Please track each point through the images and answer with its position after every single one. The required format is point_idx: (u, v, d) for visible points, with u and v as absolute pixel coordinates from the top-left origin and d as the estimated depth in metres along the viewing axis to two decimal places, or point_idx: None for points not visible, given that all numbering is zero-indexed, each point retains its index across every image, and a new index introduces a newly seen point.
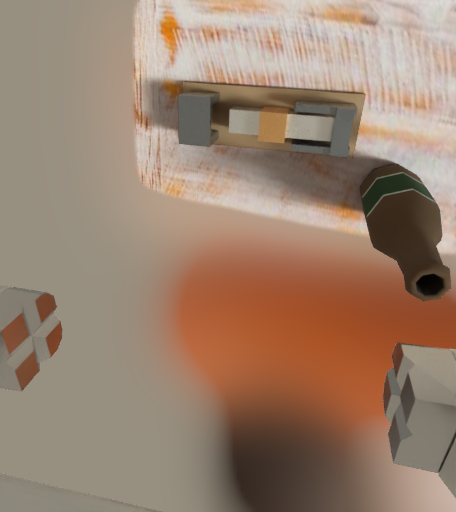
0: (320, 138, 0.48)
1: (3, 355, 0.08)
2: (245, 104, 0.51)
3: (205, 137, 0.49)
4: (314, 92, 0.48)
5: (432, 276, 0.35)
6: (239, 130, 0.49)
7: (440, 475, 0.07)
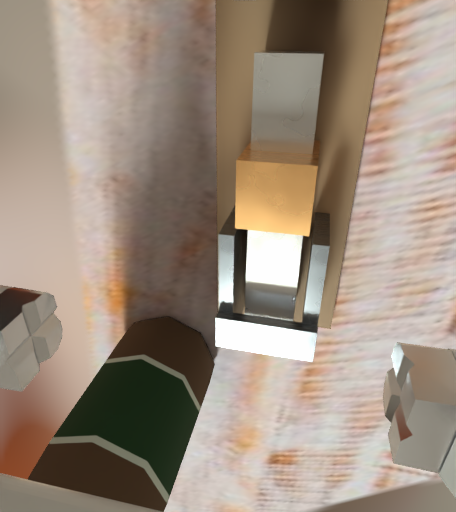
0: (250, 285, 0.22)
1: (3, 355, 0.08)
2: (326, 85, 0.19)
3: None
4: (342, 246, 0.23)
5: None
6: (261, 88, 0.17)
7: (440, 475, 0.07)
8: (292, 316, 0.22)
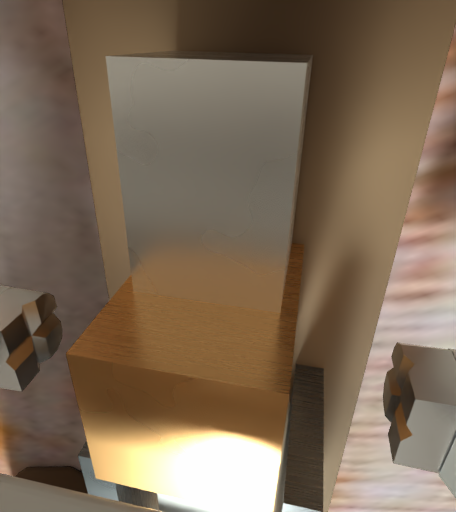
0: (167, 511, 0.11)
1: (3, 355, 0.08)
2: (317, 132, 0.08)
3: None
4: (346, 420, 0.12)
5: None
6: (140, 154, 0.06)
7: (440, 475, 0.07)
8: None
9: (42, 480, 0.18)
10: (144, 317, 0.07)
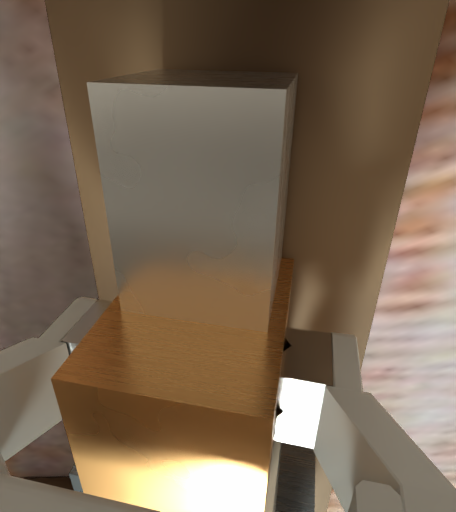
0: None
1: None
2: (305, 149, 0.08)
3: None
4: None
5: None
6: (123, 178, 0.06)
7: (314, 450, 0.08)
8: None
9: None
10: (131, 339, 0.07)
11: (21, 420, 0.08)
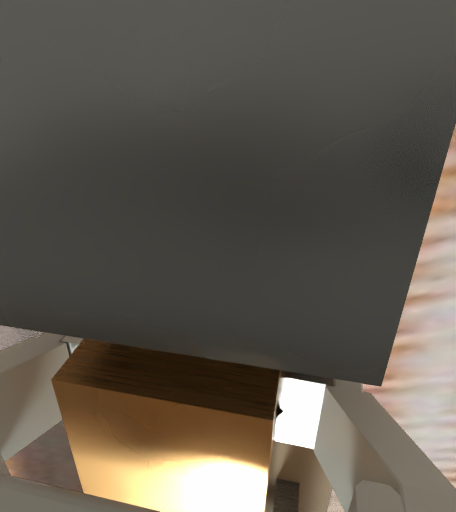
0: None
1: None
2: None
3: (13, 296, 0.05)
4: None
5: None
6: None
7: (314, 450, 0.08)
8: None
9: None
10: None
11: (20, 421, 0.08)
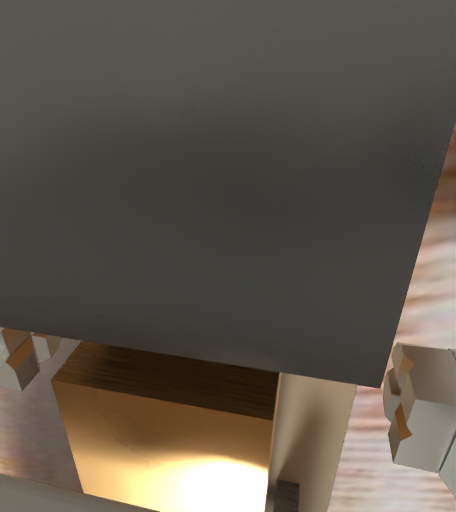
0: None
1: (3, 355, 0.08)
2: None
3: (13, 298, 0.05)
4: None
5: None
6: None
7: (440, 475, 0.07)
8: None
9: None
10: None
11: None
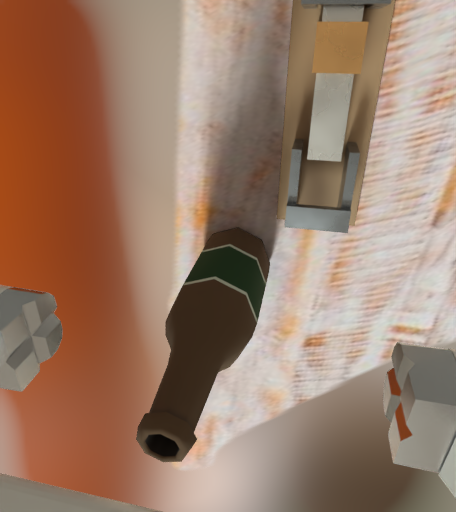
0: (313, 128, 0.32)
1: (3, 355, 0.08)
2: None
3: None
4: (363, 164, 0.35)
5: None
6: None
7: (440, 475, 0.07)
8: (341, 151, 0.32)
9: (228, 231, 0.42)
10: None
11: None
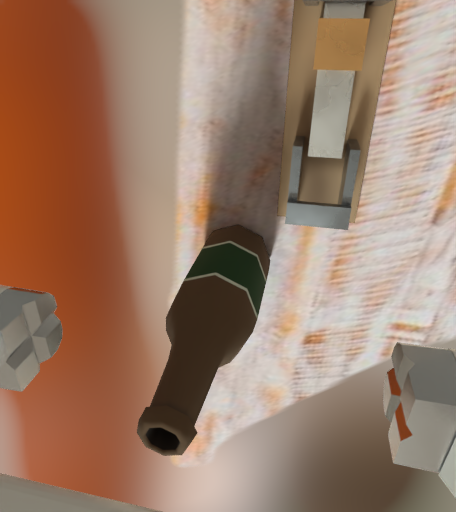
0: (314, 125, 0.32)
1: (3, 355, 0.08)
2: None
3: None
4: (364, 161, 0.36)
5: None
6: None
7: (440, 475, 0.07)
8: (342, 148, 0.33)
9: (228, 228, 0.42)
10: None
11: None
